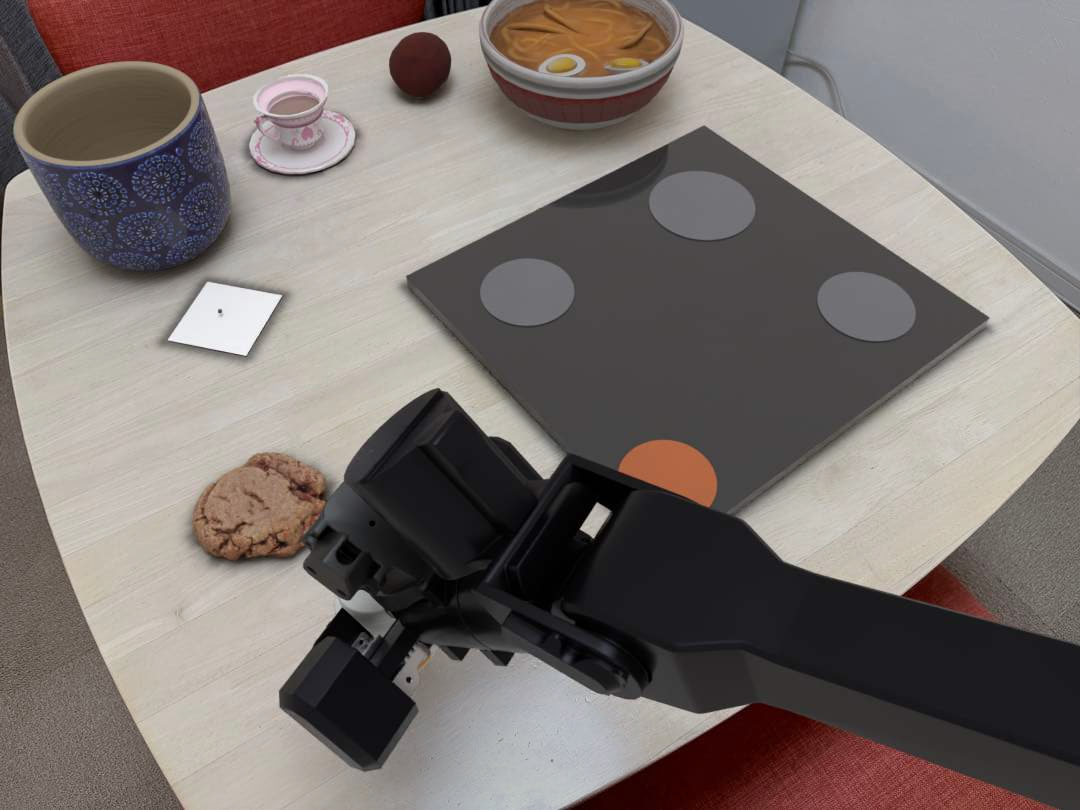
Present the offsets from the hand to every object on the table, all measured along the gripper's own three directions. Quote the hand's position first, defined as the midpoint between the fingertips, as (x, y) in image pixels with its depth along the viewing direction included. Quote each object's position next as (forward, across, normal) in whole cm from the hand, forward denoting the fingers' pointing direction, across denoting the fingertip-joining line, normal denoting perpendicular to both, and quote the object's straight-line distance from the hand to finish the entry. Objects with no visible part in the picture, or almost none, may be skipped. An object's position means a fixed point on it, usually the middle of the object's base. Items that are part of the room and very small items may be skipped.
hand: (363, 589), depth 55 cm
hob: (+5, -43, +11) cm, 45 cm away
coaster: (+32, -20, -16) cm, 40 cm away
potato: (+36, -61, -20) cm, 73 cm away
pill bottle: (+4, 0, +6) cm, 7 cm away
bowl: (+23, -68, -7) cm, 72 cm away
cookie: (+19, -5, -3) cm, 20 cm away
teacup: (+40, -45, -24) cm, 64 cm away
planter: (+41, -25, -26) cm, 55 cm away
